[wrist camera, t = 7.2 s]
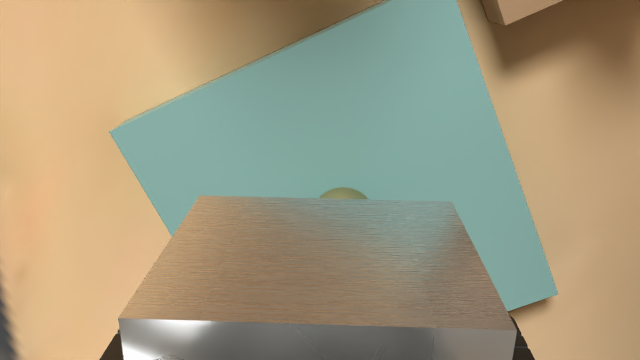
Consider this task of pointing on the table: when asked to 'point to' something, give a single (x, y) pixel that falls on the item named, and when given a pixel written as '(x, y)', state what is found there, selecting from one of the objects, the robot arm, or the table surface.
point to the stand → (513, 9)
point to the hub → (352, 134)
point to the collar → (317, 285)
